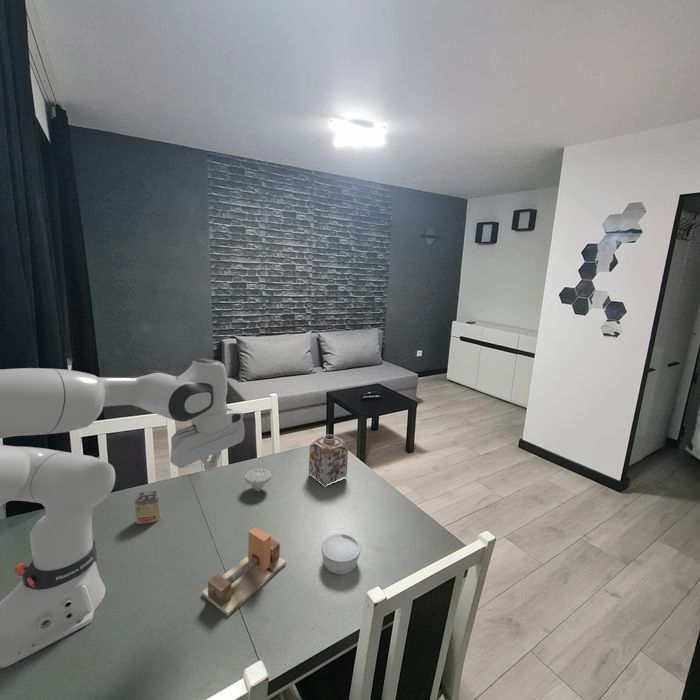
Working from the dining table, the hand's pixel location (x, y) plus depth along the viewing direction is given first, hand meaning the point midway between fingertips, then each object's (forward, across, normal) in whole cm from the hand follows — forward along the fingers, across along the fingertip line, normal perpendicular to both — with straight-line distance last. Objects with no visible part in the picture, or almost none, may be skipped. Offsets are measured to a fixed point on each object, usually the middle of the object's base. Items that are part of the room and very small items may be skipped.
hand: (210, 468), depth 96 cm
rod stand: (+29, +2, -12) cm, 31 cm away
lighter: (+29, -1, +31) cm, 43 cm away
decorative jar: (+29, +56, +1) cm, 63 cm away
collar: (+28, +6, -12) cm, 31 cm away
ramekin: (+30, +22, -29) cm, 47 cm away
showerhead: (+29, +32, +16) cm, 46 cm away
